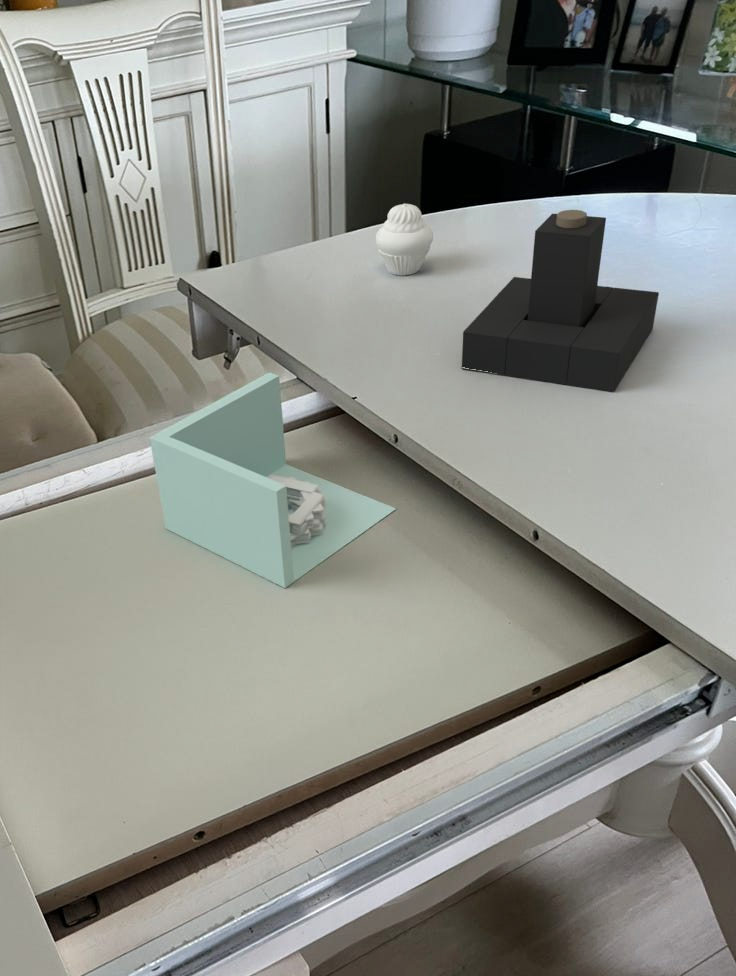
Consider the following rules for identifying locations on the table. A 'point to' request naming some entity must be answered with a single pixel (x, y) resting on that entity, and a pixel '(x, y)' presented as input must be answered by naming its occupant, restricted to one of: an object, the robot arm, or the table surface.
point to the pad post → (566, 268)
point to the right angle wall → (253, 488)
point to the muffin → (404, 240)
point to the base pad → (560, 338)
